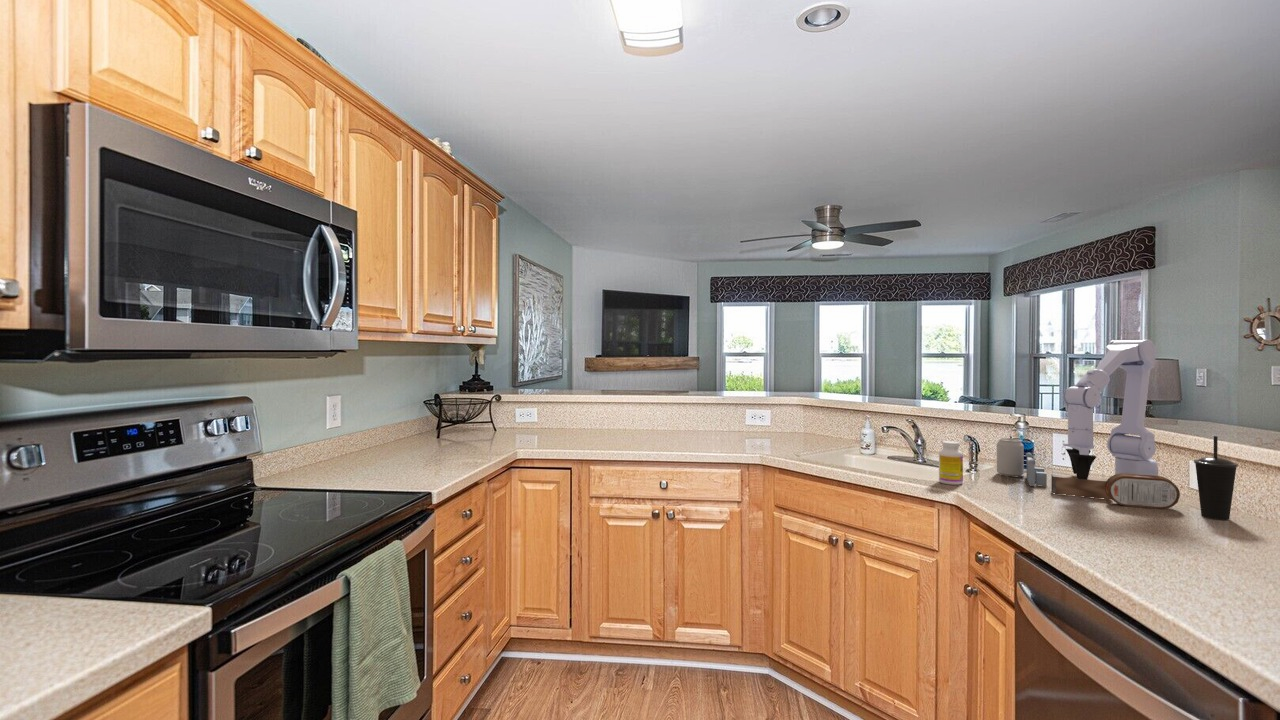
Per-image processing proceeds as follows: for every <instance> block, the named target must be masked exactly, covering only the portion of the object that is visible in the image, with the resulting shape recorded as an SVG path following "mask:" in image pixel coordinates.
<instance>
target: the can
mask: <svg viewBox="0 0 1280 720" xmlns="http://www.w3.org/2000/svg"><path fill="white" fill-rule="evenodd" d="M998 440H999V441H997V442H996V473H998V474H999V475H1000V474H1001V475H1000V476H1002V475H1005V476H1004V477H1008V476H1020V477H1022V476H1023V475H1024V474H1025V472H1024V471H1025V469H1024V468H1025V466H1024V465H1025V462H1024V461H1025V459H1024V457H1025V456H1024V455H1025V453H1024V452H1025V449H1024V447H1025V445H1024V444H1023V443H1022V439H1018V438H1012V437H1011V438H1009V437H1002V438H998Z"/></svg>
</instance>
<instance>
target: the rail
mask: <svg viewBox="0 0 1280 720" xmlns="http://www.w3.org/2000/svg"><path fill="white" fill-rule="evenodd" d="M1108 479H1109V478H1105V477H1104V478H1103V477H1090V476H1088V479H1087V480H1085V479H1078V478H1077V475H1066V474H1055V473H1051V493H1052V492H1053V493H1055V494H1054V495H1058V494H1066V495H1065V496H1068V495H1075V496H1074V497H1078V496H1084V497H1083V498H1088V497H1094V498H1093V499H1099V498H1104V499H1103V500H1109V499H1110V498H1109V497H1108V496H1107V494H1106V492H1105V483H1106V481H1107V480H1108ZM1053 493H1052V494H1053Z"/></svg>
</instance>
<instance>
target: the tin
mask: <svg viewBox="0 0 1280 720" xmlns="http://www.w3.org/2000/svg"><path fill="white" fill-rule="evenodd" d="M1107 479H1108V480H1107V481H1106V483H1105V492H1106V494H1107V496H1108V497H1109V498H1110V499H1111V501H1113V502H1114V503H1115V504H1117V505H1119V506H1125V507H1132V506H1133V508H1134V507H1136V508H1145V509H1154V510H1155V509H1156V510H1157V509H1158V510H1166V509H1171V508H1173V507H1174V506H1176V504H1178V503H1179V500H1180V496H1181V493H1180V490H1179V487H1178V486H1177V485H1176V484H1175V483H1174V482H1173V481H1171V479H1169V478H1167V477H1164V476H1161V475H1158V476H1152V475H1138V474H1126V473H1120V474H1116V475H1115V474H1113V475H1112V476H1109V478H1107Z"/></svg>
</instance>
